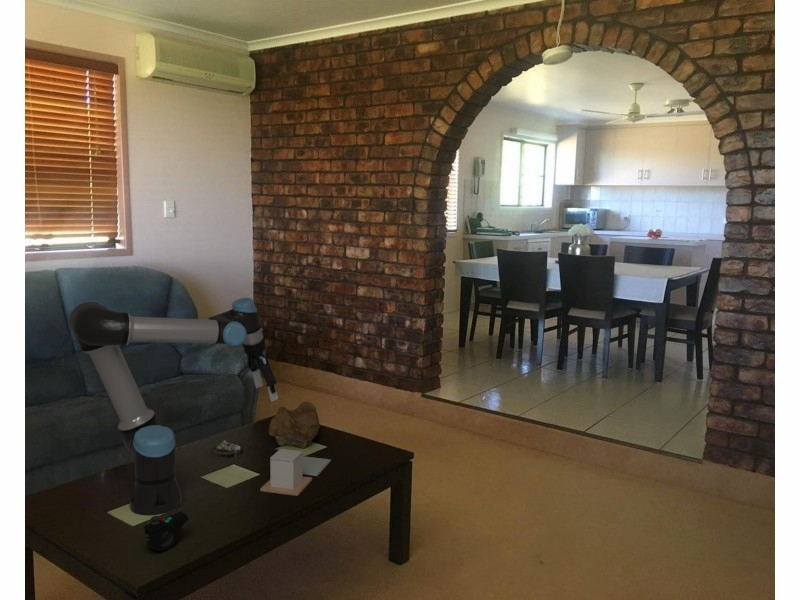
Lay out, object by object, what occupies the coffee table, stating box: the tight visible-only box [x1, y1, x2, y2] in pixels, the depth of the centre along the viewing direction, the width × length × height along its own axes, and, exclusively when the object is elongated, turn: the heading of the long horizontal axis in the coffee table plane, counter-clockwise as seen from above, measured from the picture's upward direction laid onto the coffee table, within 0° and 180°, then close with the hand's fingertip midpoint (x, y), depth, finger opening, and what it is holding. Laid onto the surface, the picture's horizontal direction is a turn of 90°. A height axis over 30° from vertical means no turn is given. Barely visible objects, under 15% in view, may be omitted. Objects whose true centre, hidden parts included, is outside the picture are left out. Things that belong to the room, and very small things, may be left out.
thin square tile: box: [259, 476, 313, 497], centre depth 217 cm, size 13×13×1 cm
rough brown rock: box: [268, 401, 321, 449], centre depth 255 cm, size 23×17×15 cm
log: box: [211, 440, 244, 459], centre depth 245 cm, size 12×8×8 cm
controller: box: [143, 511, 189, 552], centre depth 175 cm, size 4×12×10 cm, turn 146°
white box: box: [269, 448, 304, 489], centre depth 216 cm, size 8×8×10 cm
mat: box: [303, 456, 332, 477], centre depth 233 cm, size 14×14×1 cm
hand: (266, 393), depth 235 cm, fingers open, 13 cm apart
